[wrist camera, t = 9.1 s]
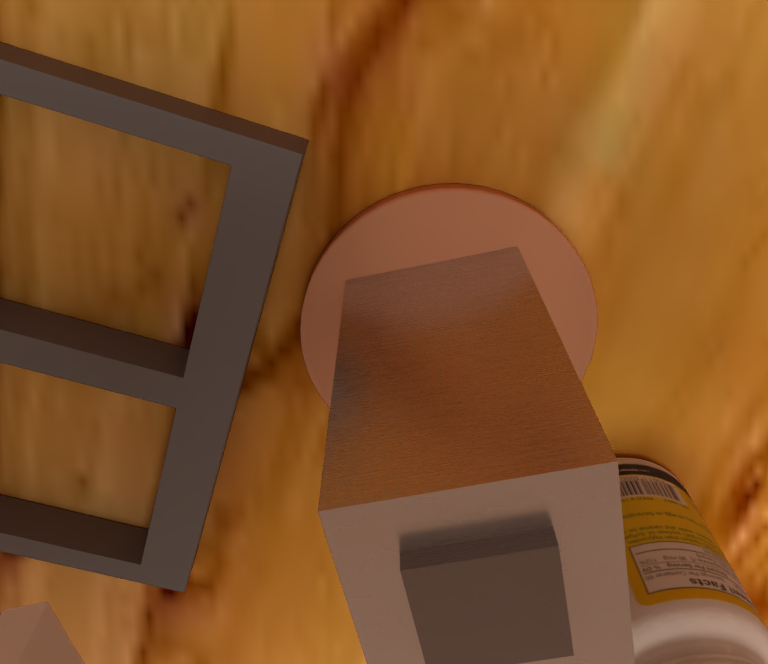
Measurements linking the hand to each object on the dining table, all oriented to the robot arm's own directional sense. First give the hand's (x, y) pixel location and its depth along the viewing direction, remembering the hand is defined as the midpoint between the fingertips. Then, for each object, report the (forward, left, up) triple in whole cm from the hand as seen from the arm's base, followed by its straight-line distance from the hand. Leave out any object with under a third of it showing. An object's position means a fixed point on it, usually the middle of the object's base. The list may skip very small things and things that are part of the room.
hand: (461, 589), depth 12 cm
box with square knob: (0, 0, -9) cm, 9 cm away
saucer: (0, 0, -10) cm, 10 cm away
